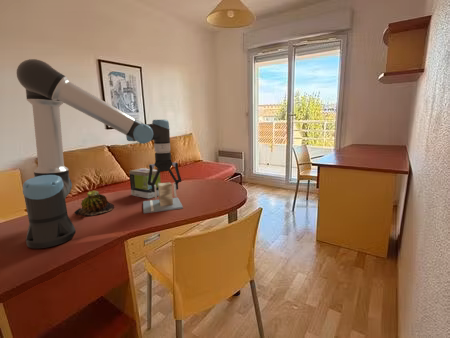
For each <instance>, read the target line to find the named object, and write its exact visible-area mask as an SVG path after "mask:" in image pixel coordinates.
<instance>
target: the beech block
mask: <svg viewBox="0 0 450 338" xmlns="http://www.w3.org/2000/svg"><path fill="white" fill-rule="evenodd" d="M172 185H173V184H172V183H171V181H169V182H161V183H158V188H159V196H158V197H159V198H158V200H159V202H160V206H166V205H173V198H174V197H173V186H172Z"/></svg>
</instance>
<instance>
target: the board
mask: <svg viewBox="0 0 450 338" xmlns="http://www.w3.org/2000/svg"><path fill="white" fill-rule="evenodd" d="M172 198H173V205H166V206H160V202H159V199H153V200H151V199H150V200H143V201H142V204H143V205H142V208H143V211H142V212H143V214H149V213H150V214H151V213H152V214H153V213H159V212H165V211H172V210H173V211H174V210H180V209H184V207H183V204H182V202H181V200H180V199H179V197H178V196H177V197H172Z"/></svg>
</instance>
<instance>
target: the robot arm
mask: <svg viewBox="0 0 450 338" xmlns="http://www.w3.org/2000/svg"><path fill="white" fill-rule="evenodd" d="M16 78H17V80H18V82H19V83H20V85H21V86H22V87H23V88H24V89H25V95H26V101H27V102H28V103H30V104H31V106H32V116H33V124H34V125H33V126H34V136H35V146H36V157H37V158H36V159H37V168H35V169H34V171H33V176H34V177H31V178H27V179H26V180H25V181H24V182H23V184H22V195H23V197H24V202H25V208H26V213H27V218H28V223H29V224H28V228H27V233H26V238H25V243H26V246H27V247H28V248H30V249H44V248H45V249H47V248H50V247H51V248H52V247H56V246H57V245H61V244H64V243H66V242H68V241H70V240H71V239H73V238H74V236H75V234H76V228H75V227H76V226H74V224H73V221H72V219H70V217H69V215H68V208H67V202H66V198H67V196H69V194H70V192H71V190H72V186H73V184H72V180H71V179H70V172H69V170H70V169H69V168H68V167H67V166H65V160H64V149H63V147H64V146H63V135H62V124H61V123H62V122H61V109H60V108H61V106H62V105H63V104H66V105H68V106H69V107H71V108H73V109H75V110H77V111H79V112H81V113H83V114H85V115H87V116H88V117H90V118H92V119H94V120H96V121H98V122H101V123H102V124H104V125H105V126H107V127H110V128H112V129H114V130H116V131H118V132H119V133H121V134H123V135H125V137H126V141H127V142H137V143H139V144H148V143H149V142H151V141H153V149H154V152H155V153H154V160H155V161H154V163H152V164H151V163H150V164H148V169H150V171H149V177H148V185H151V186H152V192H155V197H154V200H158V196H157V192H156V185H155V182H156V180H157V178H158V175H159V173H160V174H161V172H168V173H169V174H170V176H171V178H172V179H173V192H174V193H173V195H174V198H176V197H178V196H177V190H179V183H181V182H182V181H183V180H182V177H181V173H180V170H179V163H178V162H177V161H176V162H172V161H173V160H172V152H171V136H170V135H171V133H170V130H171V128H170V123H169V120H168V119H152V122H151V123H144V122H142V121H139V120H138V119H136V118H135V117H132V115H130V114H127V113H125V112H124V111H122V110H120V109H118V108H117V107H115V106H114V105H112V104H110V103H108V102H106V101H104V100H103V99H101V98H99V97H98V96H95V95H94V94H93V93H90V92H88V91H87V90H85V89H83V88H82V87H80V86H79V85H76V84H74V83H72V82H71V81H70V80H69V78H68V76H67V75H64V74H63V73H60V71H58V70H56V69H55V68H54V67H52V66H51V65H50V64H49V63H47V62H46V61H43V60H41V59H37V58H36V59H35V58H30V59H26V60H24V61H22V62H20V63H19V64H18V66H17V68H16ZM172 166H173V167H174V169H175V173H176V176H177V178H176V176H175V174H174V173H173V171H172V169H171V167H172ZM155 168H156V170H157V172H156V174H155V177H154V179H153V181H152V182H151V177H152V169H155Z"/></svg>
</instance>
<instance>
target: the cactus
mask: <svg viewBox="0 0 450 338" xmlns="http://www.w3.org/2000/svg"><path fill="white" fill-rule="evenodd" d="M99 193H100V191H98V190H89V191H88V192H87V193H86V197H85V198H83V199H82V200H81V203H80V205H81V208H80V207H79V208H78V209H76V210H75V211H74V214H75V215H78V216H96V215H100V214H103V213H107V212H109V211H112V210H113V209H114V208H115V206H114V204H112V203H111V202H110V201H108V198H107V197H106V195H103V194H99Z"/></svg>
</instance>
